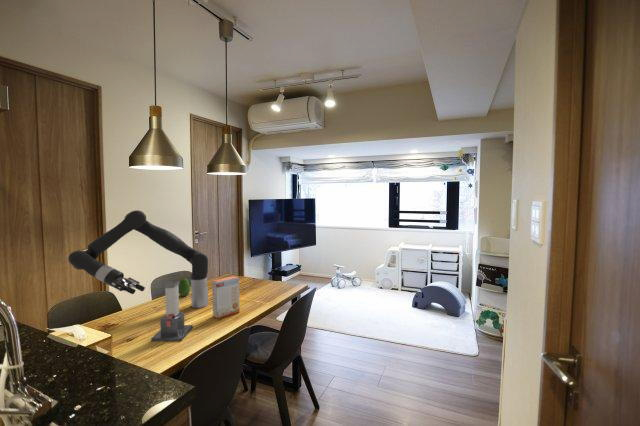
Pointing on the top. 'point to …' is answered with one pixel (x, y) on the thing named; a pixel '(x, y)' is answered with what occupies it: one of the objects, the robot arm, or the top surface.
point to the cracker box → (225, 296)
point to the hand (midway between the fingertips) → (139, 290)
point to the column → (172, 298)
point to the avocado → (184, 287)
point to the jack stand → (172, 328)
